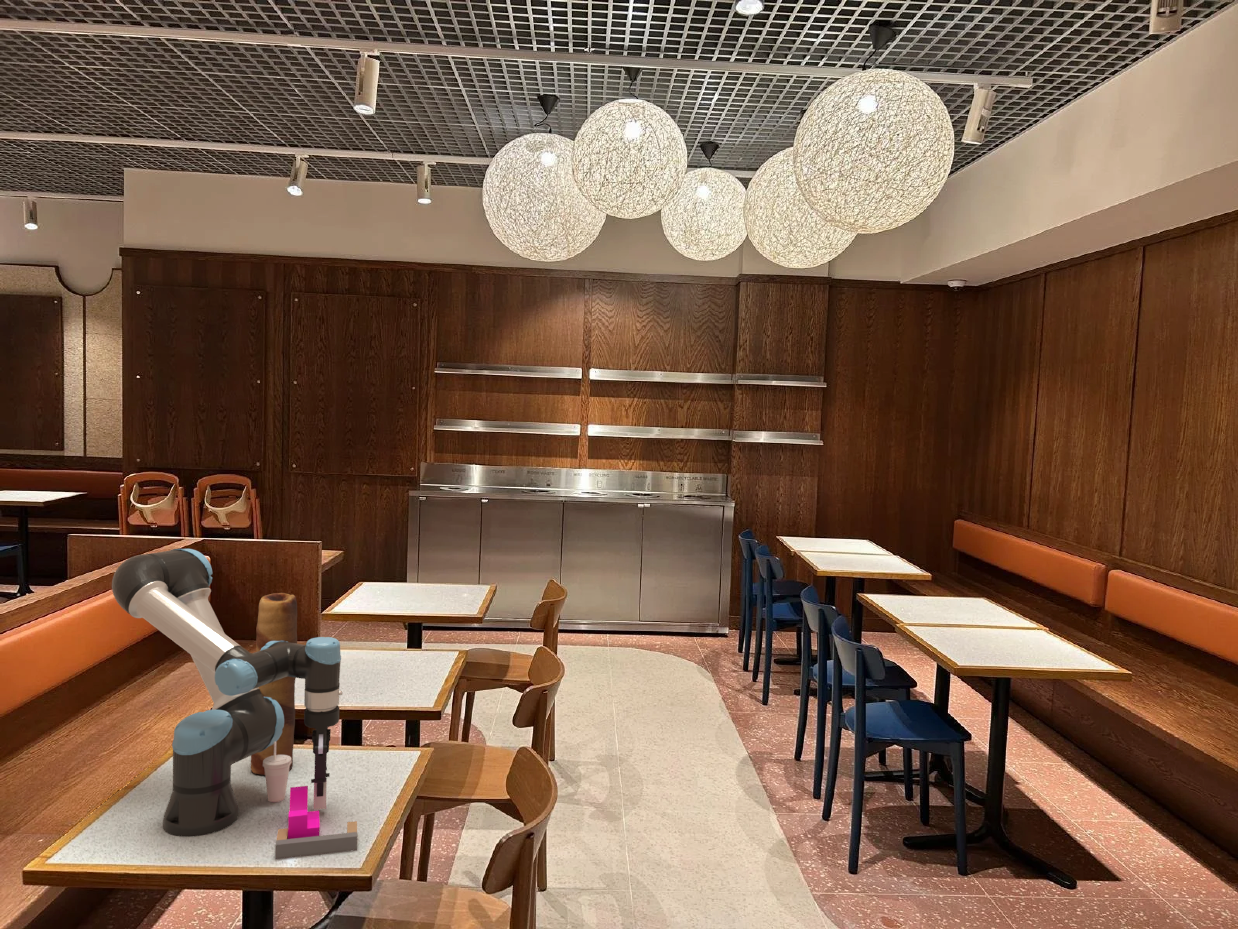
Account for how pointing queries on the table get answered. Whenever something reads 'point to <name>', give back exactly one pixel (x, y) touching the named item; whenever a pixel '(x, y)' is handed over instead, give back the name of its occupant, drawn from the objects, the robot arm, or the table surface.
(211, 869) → the table surface
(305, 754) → the table surface
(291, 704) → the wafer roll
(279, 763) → the smoothie
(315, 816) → the toy block
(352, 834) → the stop board
